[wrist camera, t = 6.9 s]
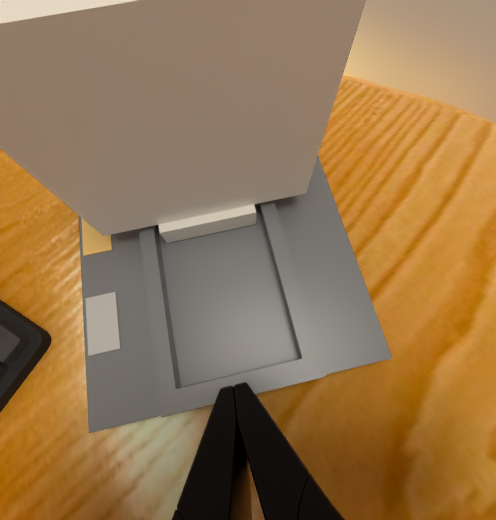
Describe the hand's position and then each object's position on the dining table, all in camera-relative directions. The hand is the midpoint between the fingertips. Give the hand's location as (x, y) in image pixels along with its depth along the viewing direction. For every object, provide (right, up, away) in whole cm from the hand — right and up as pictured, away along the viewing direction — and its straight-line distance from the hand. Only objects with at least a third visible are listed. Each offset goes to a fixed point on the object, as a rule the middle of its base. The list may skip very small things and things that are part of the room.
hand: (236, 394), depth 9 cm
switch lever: (-2, +7, +9) cm, 12 cm away
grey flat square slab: (-1, +4, +9) cm, 10 cm away
